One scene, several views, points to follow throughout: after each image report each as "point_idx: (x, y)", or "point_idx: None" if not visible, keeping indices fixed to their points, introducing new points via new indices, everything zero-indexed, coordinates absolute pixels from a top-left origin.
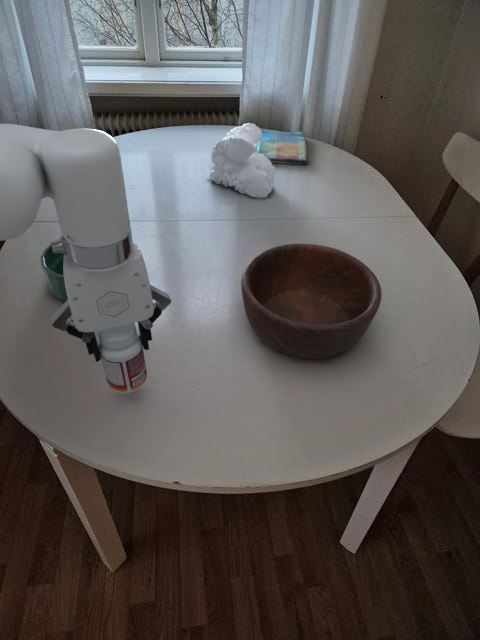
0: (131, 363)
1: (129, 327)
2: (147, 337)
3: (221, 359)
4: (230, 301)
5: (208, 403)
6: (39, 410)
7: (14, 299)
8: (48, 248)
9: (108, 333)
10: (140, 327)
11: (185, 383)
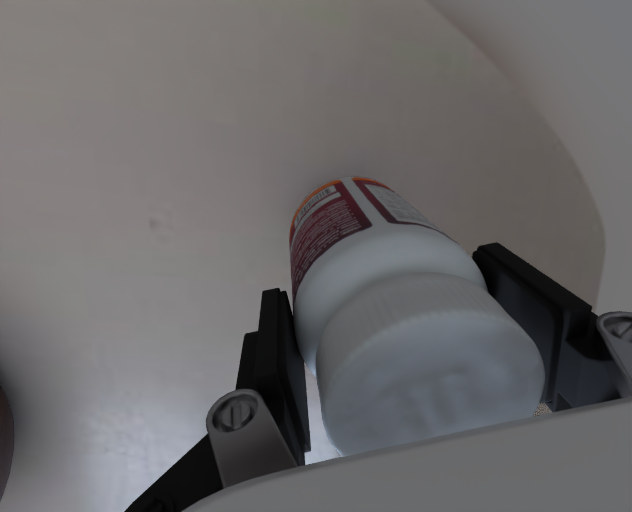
0: (343, 225)
1: (359, 405)
2: (257, 339)
3: (93, 296)
4: (88, 461)
5: (117, 151)
6: (548, 193)
7: None
8: None
9: (488, 368)
10: (292, 402)
11: (191, 229)
